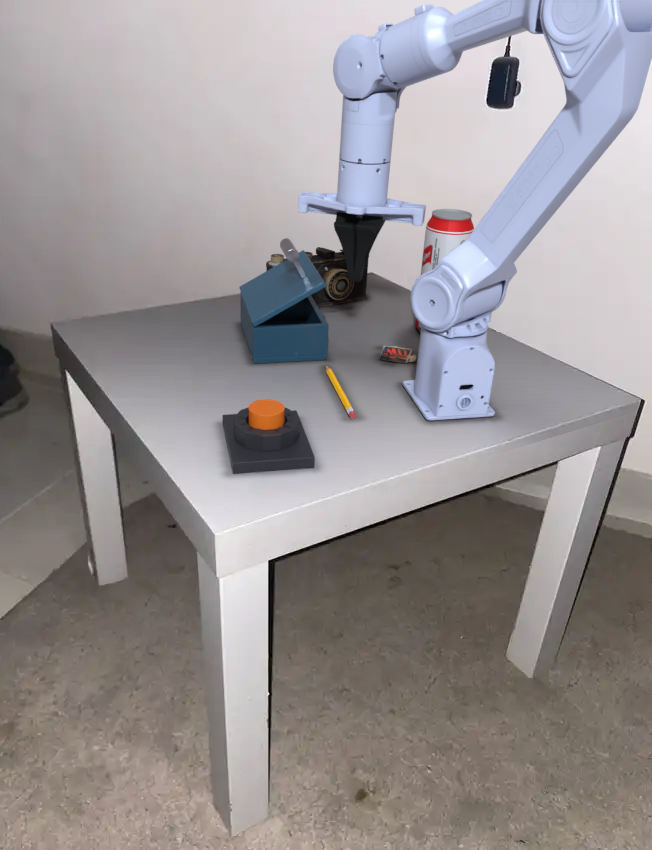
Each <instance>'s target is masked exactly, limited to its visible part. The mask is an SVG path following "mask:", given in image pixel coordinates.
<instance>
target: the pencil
mask: <svg viewBox="0 0 652 850" xmlns="http://www.w3.org/2000/svg"><path fill="white" fill-rule="evenodd" d="M325 373H326V374H327V376H328V378H329V380H330V382H331V384H332V386H333V387H334V390H335V391H336V394H337V396H338V397H339V399H340V401H341V403H342V406H343V407H344V409H345V410H346V412H347V414H348V416H349V418H350V419H351V420H353V419H356V418H357V414H356V412H355V410H354V408H353V406H352V404H351V403H350V401H349V398H348V397H347V395H346V394H345V391H344V390H343V388H342V385H341V384H340V382H339V380H338V379H337V377H336V374H335V373H334V371H333V369H332V368H331V367H329V366H328V365H326V366H325Z"/></svg>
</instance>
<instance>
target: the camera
mask: <svg viewBox="0 0 652 850" xmlns="http://www.w3.org/2000/svg"><path fill="white" fill-rule="evenodd" d="M305 253H306V254H307V256H308V257H309V259H310V261H311V262H312V264H313V265H314V267H315V268H316V270H317V271H318V273H319V274H320V276H321V277H322V279H323V281H324V282H325V284H326V287H324V288H323V289H321V290H319V291H317V292H315V293H314V294H312V295H311V296H312V297H313V299H314V301H315V303H316V304H317V306H318V308H319V307H326V306H333V305H338V304H339V305H340V304H347V303H353V302H359V301H364V300H365V299H366V298H367V284H368V270H369V258H370V255H369V256H368V259H367V261H366V265H365V268H364V273H363V278H362V279H361V280H360V282H356V281H349V280H348V271H347V264H346V260H345V255H344V252H343V249H339V251H337V252H336V251H335V250H332V249H329V248H326V247H321V246H318V247H316V248H315V254H313V252H312V251H311V252H310V251H305ZM285 260H287V258H286V257H285V255H284V254H281V253H273V254H270V260H268V261H266V262H265V268H266V270H265V272H266V271H268V270H270V269H271V268H273V267H275V266H276V265H278V264H280V263H282V262H283V261H285Z"/></svg>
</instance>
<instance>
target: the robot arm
mask: <svg viewBox="0 0 652 850" xmlns="http://www.w3.org/2000/svg"><path fill="white" fill-rule="evenodd" d="M413 11H414V16H412V17H409V18H407V19H405V20H402V21H400V22H398V23H395V24H394V23H392V22H385V23H382V24H381V25H379V26H378V29H377V30H378V32H376V33H375V34H373V35H372V36H367V35H364V34H358V33H357V34H356V33H355V34H354V33H353V34H351V35H349V37H348V38H347V39H344V40H343V42H341V43H340V45H339V46H338V48H337V49H336V52H335V55H334V57H333V58H334V59H333V64H332V74H333V79H334V83H335V84H336V87H337V89H338V90H339V92H340V93H341V94H342V107H341V108H342V109H341V123H340V124H341V125H340V139H339V141H340V143H339V156H338V157H339V158H338V173H337V188H336V189H337V190H336V193H335V192H334V193H333V192H309V191H302V192H301V193H300V194H298V195H297V197H298V198H297V199H298V200H297V202H298V203H297V213H302V214H307V213H315V214H323V215H324V214H325V215H333V216H335V221H334V222H333V228H334V232H335V234H336V235H337V238H338V240H339V242H340V245H341V248H342V249H341V250H343V252H344V255H345V260H346V264H347V271H348V280H349V281H356V282H360V280H361V279H362V278H363V273H364V268H365V265H366V261H367V259H368V256H369V257H370V253H371V250H372V249H373V246H374V243H375V242H376V240H377V238H378V235H379V234H380V232H381V230H382V228H383V226H384V225H385V224H386V221H387V222H393V223H403V224H411V225H412V226H417V227H423V225H424V223H425V218H426V210H427V205H426V204H420V203H414V202H408V201H403V200H399V199H393V198H388V192H389V184H390V183H389V181H390V171H391V163H392V152H393V151H392V150H393V141H394V140H393V139H394V129H395V118H396V113H397V112H398V111H397V110H398V109H400V100H401V96H402V93H403V92H404V91H405V89H406V88H407V87H410V86H414V85H415V84H418V83H421V82H424V81H427V80H430V79H432V78H435V77H438V76H441V75H443V74H446V73H449V72H451V71H453V70H454V69H455V68H456V67H457V66H458V64H459V63H460V61H461V58H462V55H463V53H464V52H465V51H468V50H472V49H475V48H479V47H481V46H485V45H487V44H491V43H493V42H497V41H500V40H503V39H506V38H509V37H513V36H515V35H518V34H521V33H525V32H528V33H530V34H533V35H543V37H544V39H545V42H546V44H547V46H548V48H549V51H550V54H551V56H552V58H553V60H554V63H555V65H556V67H557V69H558V72H559V74H560V76H561V79H562V81H563V85H564V92H565V99H566V101H565V105H564V106H563V107H562V109H560V111H559V112H558V114H557V115H556V117H555V118H554V120H553V121H552V122H551V124H550V125H549V126H548V128H547V129H546V131H545V132H544V133H543V135H542V136H541V137H540V138H539V140H538V142H537V143H536V144H535V146H534V147H533V148H532V150H531V151H530V152H529V154H528V155H527V156H526V158H525V159H524V160H523V163H521V164H520V165H519V167H518V169H517V170H516V171H515V173H514V175H513V176H512V177H511V179H510V180H509V182H508V183H506V185H505V187H504V188H503V189H502V190H501V192H500V194H499V195H498V196H497V197H496V199H495V200H494V202H493V203H492V204H491V205H490V207H489V209H488V210H487V211H486V213H485V214H484V215H483V217H482V218H481V219H480V221H479V222H478V224H477V225H476V226H475V227H474V230H473V232H472V233H471V235H470V236H469V237H468V239H467V240H466V241H464V242H463V243H462V244H461V245H459V246H458V247H456V248H455V249H454V250H452V251H451V252H450V253H448V254H447V255H446V256H445V257H443V258H442V259H441V261H440V262H439V263H438V265H437V266H436V267H435V268H434V269H433V270H431V271H429V272H426V273H424V274H422V275H421V274H420V275H419V276H418V277H417V278H416V279H415V281H414V282H413V284H412V287H411V290H410V297H409V299H410V307H411V310H412V313H413V316H414V317H415V320H416V319H417V320H418V322H419V325H418V326H419V327H420V328H421V332H419V333H420V334H419V342H418V352H417V360H416V369H415V377H414V379H409V380H407V379H405V380H403V381H402V386H403V387H404V389H405V390H406V392H407V393H408V395H409V397H410V398H411V399H412V401H413V402H414V404H415V405H416V407H417V408H418V410H419V411H420V413H421V414H422V415H423V417H424V418H425V420H427V421H443V420H444V421H446V420H461V419H474V418H487V417H488V418H490V417H494V416H495V414H496V411H495V410H494V409H493V408H492V407H491V405H490V400H491V399H490V398H491V394H492V389H493V388H492V386H493V382H494V376H495V369H496V363H495V358H494V356H493V354H492V353H491V351H490V349H489V346H488V339H487V337H488V331H489V325H490V323H491V320H492V314H493V312H495V311H496V310H498V309H499V308H500V306H501V305H502V304H503V302H504V301H505V298H506V295H507V290H508V287H509V285H510V282H511V281H512V280H513V278H514V277H515V275H516V274H517V273H518V269H517V266H516V264H515V262H516V261H517V260H518V258H520V256H521V255H522V254H523V252H524V251H525V250H526V249H527V247H529V245H530V244H531V242H533V240H534V239H535V238H536V236H537V235H538V234H539V233H540V232H541V231H542V229H543V228H544V227H545V226H546V224H547V223H548V222H549V221H550V219H551V218H553V216H554V215H555V214H556V212H557V211H558V210H559V208H561V206H562V205H563V204H564V203H565V201H566V200H567V199H568V198H569V196H571V194H572V193H573V191H575V189H576V188H577V187H578V185H579V184H580V183H581V182H582V181H583V179H584V178H585V177H586V175H588V173H589V172H590V171H591V169H592V168H593V167H594V166H595V165H596V163H597V162H598V161H599V160H600V159H601V157H602V156H603V155H604V154H605V153H606V152H607V150H608V149H609V147H611V145H612V144H613V142H614V141H615V140H616V139H617V138H618V136H619V135H620V134H621V133H622V132H623V130H624V129H625V128H626V127H627V125H629V123H630V122H631V120H632V119H633V118H634V116H635V115H636V114H637V113H636V112H637V111H638V109H639V106H640V103H641V99H642V95H643V92H644V89H645V84H646V81H647V78H648V74H649V70H650V68H651V67H650V66H651V62H652V0H481V1H478V2H476V3H475V4H473V5H471V6H468V7H466V8H464V9H462V10H461V11H459V12H456V13H453V12H451V11H450V10H448V9H447V8H445V7H442V6H434V4H429V3H428V4H426V3H423V4H421V5H418V6H416V7H415V8H414V10H413ZM368 260H369V259H368Z"/></svg>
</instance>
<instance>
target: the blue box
mask: <svg viewBox="0 0 652 850" xmlns="http://www.w3.org/2000/svg"><path fill="white" fill-rule="evenodd" d="M239 295H240V301H239V302H240V326H241V329H242V332H243V335H244V339H245V341H246V345H247V347H248V348H247V349H248V351H249V354H250V356H251V361H252V363H253V364H272V363H291V362H313V361H327V360H328V345H329V323H328V322H327V319H326V318H325V316H324V315H323V313H322V311H321V310H320V308H319V307H318V306H317V304H316V303H315V301H314V299H313V297H312V296H311V295H310V296H308V297H307V298H305V299H303V300H301V301H300V302H298V303H296V304H294V305H293V306H291V307H289V308H287V309H286V310H284V311H282V312H280V313H278V314H277V315H275V316H273V317H271V318H270V319H268V320H266V321H264V322H263V323H261V324H259V325H257V326H256V327H254V326H253V324H252V322H251V319H250V316H249V313H248V311H247V308H246V305H245V302H244V299H243V296H242V294H241V291H240V294H239Z"/></svg>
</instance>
